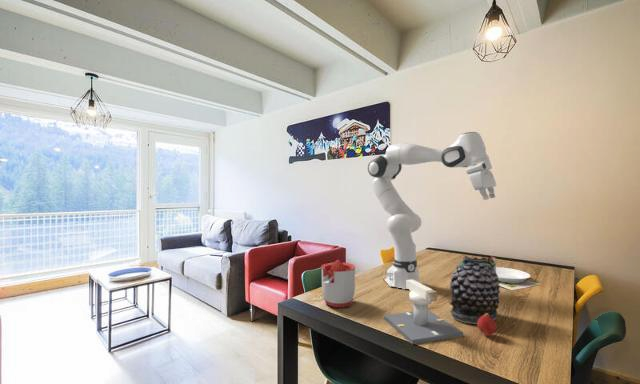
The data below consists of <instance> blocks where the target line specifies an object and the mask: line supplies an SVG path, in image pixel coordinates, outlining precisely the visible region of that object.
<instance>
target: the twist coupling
mask: <svg viewBox="0 0 640 384" xmlns="http://www.w3.org/2000/svg"><path fill="white" fill-rule="evenodd" d="M406 288H407V289H409V290H408V291H409V292H408V293H409V294H408V295H409V297H408V300H409V302H410V303H412V304H414V303H415V304H419V305H428V306H429V305H431V304H432V303H433V302H438V297H437V296H438V291H436V290H434V289H432V288H431V287H429V286H427V285H425V284H423V283H422V282H421V283H419V282H417V281H415V280H413V279H411V280H406Z"/></svg>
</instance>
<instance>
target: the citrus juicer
mask: <svg viewBox="0 0 640 384" xmlns="http://www.w3.org/2000/svg"><path fill="white" fill-rule="evenodd" d="M320 268H321V291H322V295H323V300H324V302H325V304H326V305H327V304H328V305H330V306H329V307H331V306H333V307H332V308H337V307H342V308H346V307H345V306H347V307H349V306H350V304H352V302H353V301H354V295H355V290H356V276H355V275H356V274H355V271H356V266H355V264H352V263H348V262H342V261H341V260H340V259H337V260H335V261H334V262H327V263H324V264H321V266H320ZM328 305H327V306H328Z"/></svg>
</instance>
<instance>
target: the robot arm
mask: <svg viewBox="0 0 640 384" xmlns="http://www.w3.org/2000/svg"><path fill="white" fill-rule="evenodd" d="M430 162H431V163H432V162H437V163H442V164H443V165H444V166H445V167H446V168H450V169H451V168H466V169H465V172H466V175H468V178H469V180H470V183H471V185H472V187H473V189H474V190H475V191H479V193H480V195H481V196H482V199H483V201H487V200H489V199H494V198H495V197H496V195H495V188H494V187H497V183H496V179H495V177H494V174H493V172H492V171H491V170H492V169H493V165H492V162H491V160H490V157H489V155H488V154H487V151H486V145H485V142H484V140H483V137H482V136H481V134H480V133H479V132H476V131H468V132H463V133H461V134H460V135H458V138H457V139H456V140H455V141H454V142H453V143H452V144H451V145H449V146H448V147H447V148H445V149H443V148H442V149H441V148H440V149H439V148H432V147H428V146H424V145H419V144H415V143H414V144H413V143H408V142H407V143H406V142H405V143H404V142H402V143H395V144H394V143H393V144H391V145H390V144H389V146H388V147H387V148H386V151H385V155H379V156H378V157H375V158H374V159H372V160H371V161H369V162H368V165H367V172H368V174H369V175H370V176H371V177H373V178H374V179H373V180H372V182H371V185H372V186H371V187H372V189H373V192H374V194H375V196H376V198H377V199H378V201H379V203H380V204H381V206H382V208H383V210H384V211H385V212H386V213H388V214H389V215H390V216H391V217H389V218H388V219H387V221H386V228H387V230H388V232H389V233H390V234H391V237H392V242H393V247H394V258H393V259H392V265H391V266H390V267H389V268H388V269H386V270H387V271H386V272H385V274H386V276H385V277H387V278H386V279H385V281H386V282H387V283H388V285H389V286H393V287H398V288H402V289H401V290H405V289H407V288H406V280H411V279H413V280H415V281H417V282H419V283H421V284H422V282H421V281H420V273H419V269H418V268H417V267H418V261H417V251H416V249H417V246H416V244H415V242H414V241H413V238H412V233H414V232H416V231H418V230H419V229H420V228H421V226H422V218H421V217H420V215H418V214H416V212H414V211H413V210H412V209H411V207H409V205H408V204H407V203H406V202H405V201H404V200H403V198H402V197H401V196H400V193H398V191H397V189H396V187H395V185H394V184H393V183H392V180H395V179H396V177H397V176H398V175H399V174H400V172H401V171H402V168H403V167H402V165H405V166H407V165H408V166H411V165H418V164H425V163H430ZM487 191H488V193H487ZM388 285H387V286H388ZM389 286H388V287H389ZM398 288H397V289H398Z"/></svg>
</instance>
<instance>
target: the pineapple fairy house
mask: <svg viewBox="0 0 640 384" xmlns="http://www.w3.org/2000/svg"><path fill="white" fill-rule="evenodd" d="M462 258H463V259H462V261H460V262H459V263H458V265H456V269H455V270H454V271H453V273H452V274H453V275H452V276H450V282H449V284H450V285H449V287H448V289H450V290H451V295H452V297H451V299H449V300H448V304H449V305H450V306H452V308H451V309H450V313H451V316H452V317H453V319H455V320H457V321H459V322H461V323H466V324H474V325H477V322H478V319H479V318H480V317H481V316H483V315H485V314H486V313H488V315H489V316H490V317H491V318H492V319H493V320H494V321H496V319H497V317H498V311H497V310H498V308H499V304H500V301H499V300H500V299H501V298H500V293H501V290H500V288H501V285H500V282H499V279H498V275H497V274H496V267H497V263H498V261H499V260H498V259H497V258H496V257H494V256H492V255H491V256H489V257H488V258H487V257H484V256H481V258H478V257H474V255H473V256H472V258H471V257H468V256H467V255H464V256H463V257H462Z"/></svg>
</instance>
